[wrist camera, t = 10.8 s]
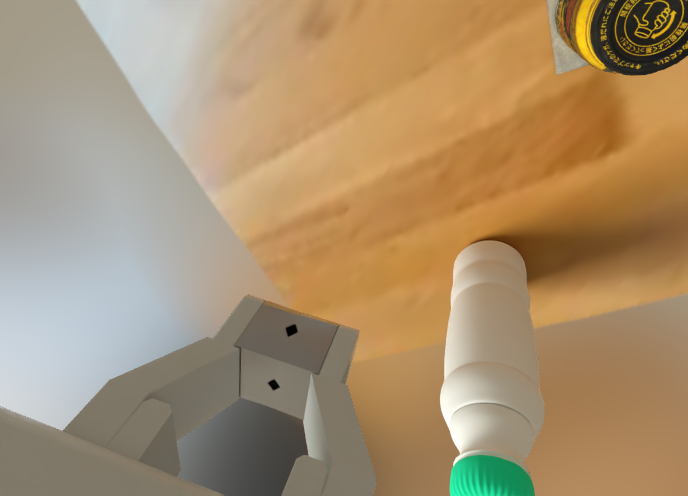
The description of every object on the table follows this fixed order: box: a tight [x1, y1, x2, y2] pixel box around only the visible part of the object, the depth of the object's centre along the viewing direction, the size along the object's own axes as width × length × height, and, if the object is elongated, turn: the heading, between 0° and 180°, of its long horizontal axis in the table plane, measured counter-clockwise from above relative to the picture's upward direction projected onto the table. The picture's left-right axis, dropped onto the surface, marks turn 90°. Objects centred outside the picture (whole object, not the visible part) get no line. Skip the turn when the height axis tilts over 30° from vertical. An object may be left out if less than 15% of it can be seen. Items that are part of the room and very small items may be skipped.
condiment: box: [547, 0, 688, 76], centre depth 25 cm, size 7×8×12 cm
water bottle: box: [440, 240, 545, 496], centre depth 34 cm, size 7×7×25 cm
